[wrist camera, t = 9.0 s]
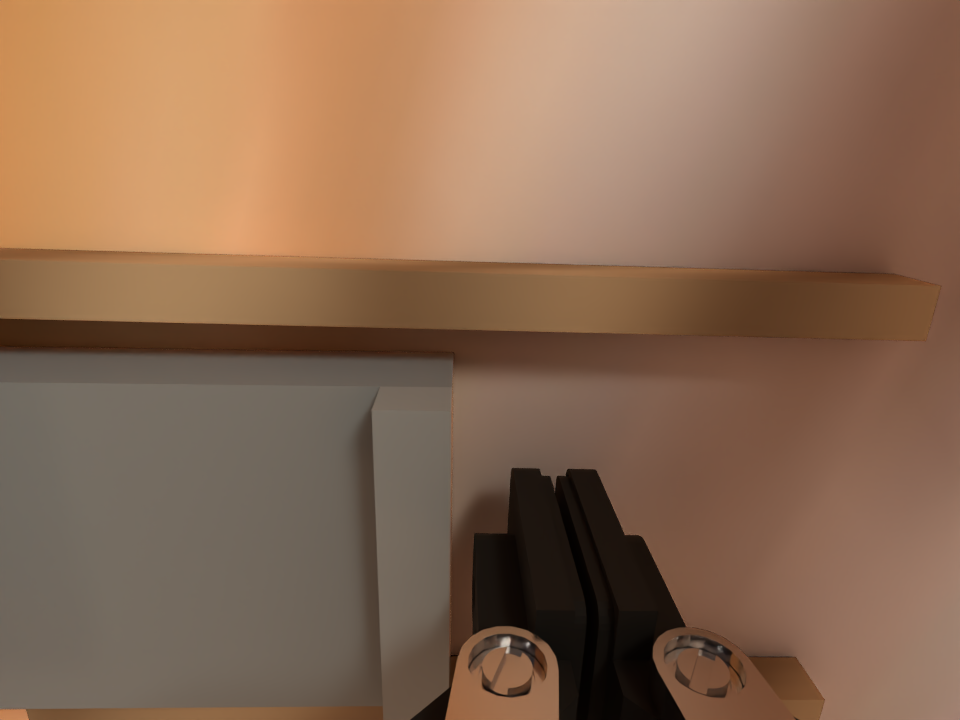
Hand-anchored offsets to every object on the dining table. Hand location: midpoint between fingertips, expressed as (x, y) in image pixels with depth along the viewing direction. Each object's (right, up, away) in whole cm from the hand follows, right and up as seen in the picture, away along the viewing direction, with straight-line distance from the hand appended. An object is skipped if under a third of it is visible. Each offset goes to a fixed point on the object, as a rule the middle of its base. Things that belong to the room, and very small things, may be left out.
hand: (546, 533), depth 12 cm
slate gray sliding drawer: (-10, +1, +1) cm, 10 cm away
